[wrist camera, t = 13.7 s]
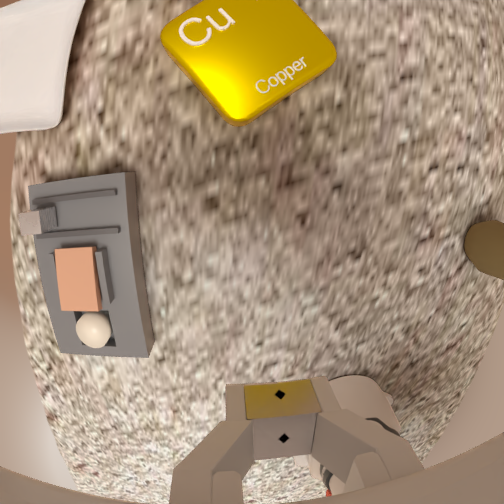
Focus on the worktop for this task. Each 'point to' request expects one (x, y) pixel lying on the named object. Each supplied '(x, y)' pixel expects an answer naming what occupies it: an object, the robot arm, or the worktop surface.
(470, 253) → the squeeze bottle
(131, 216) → the control panel
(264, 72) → the element tile
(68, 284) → the rocker switch
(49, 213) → the slider lever
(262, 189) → the worktop surface
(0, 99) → the salad plate
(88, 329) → the push button
